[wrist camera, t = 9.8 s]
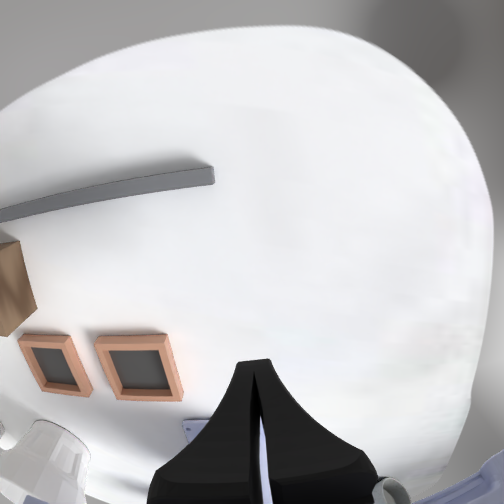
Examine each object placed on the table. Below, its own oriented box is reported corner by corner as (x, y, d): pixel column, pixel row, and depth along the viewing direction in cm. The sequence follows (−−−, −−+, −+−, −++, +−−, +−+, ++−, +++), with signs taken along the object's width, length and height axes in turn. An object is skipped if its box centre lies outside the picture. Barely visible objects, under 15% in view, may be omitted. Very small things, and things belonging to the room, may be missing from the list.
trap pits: (183, 392, 24) (181, 401, 23) (46, 384, 24) (41, 391, 22) (167, 334, 22) (164, 343, 21) (23, 334, 22) (17, 340, 21)
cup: (43, 396, 24) (0, 468, 14) (124, 463, 27) (105, 536, 17) (9, 419, 26) (-25, 473, 15) (76, 474, 29) (55, 530, 19)
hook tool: (232, 323, 22) (231, 343, 19) (-19, 327, 22) (-32, 338, 19) (213, 166, 19) (209, 168, 16) (-49, 225, 18) (-65, 231, 16)
